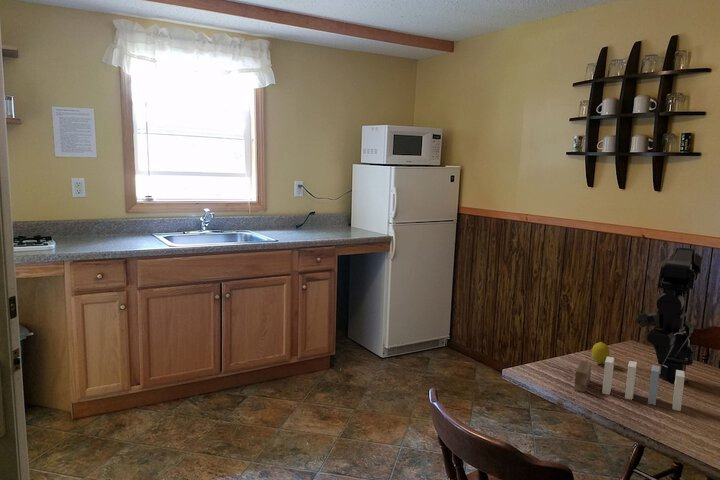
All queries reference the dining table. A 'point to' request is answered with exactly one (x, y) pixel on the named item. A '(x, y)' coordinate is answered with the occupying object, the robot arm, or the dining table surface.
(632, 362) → the domino
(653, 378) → the blue domino
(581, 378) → the end block
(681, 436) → the dining table surface
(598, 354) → the lemon
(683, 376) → the domino
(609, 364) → the domino
